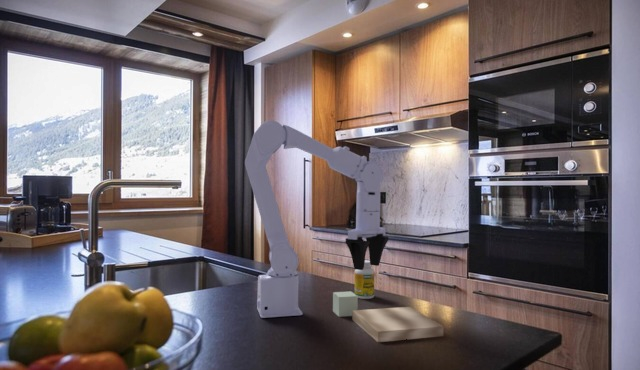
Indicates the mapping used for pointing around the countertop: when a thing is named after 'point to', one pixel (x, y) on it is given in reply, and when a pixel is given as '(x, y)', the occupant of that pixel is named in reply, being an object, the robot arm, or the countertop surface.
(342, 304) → the sage cube
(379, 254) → the robot arm
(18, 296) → the countertop surface
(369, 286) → the supplement bottle
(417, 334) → the birch block
